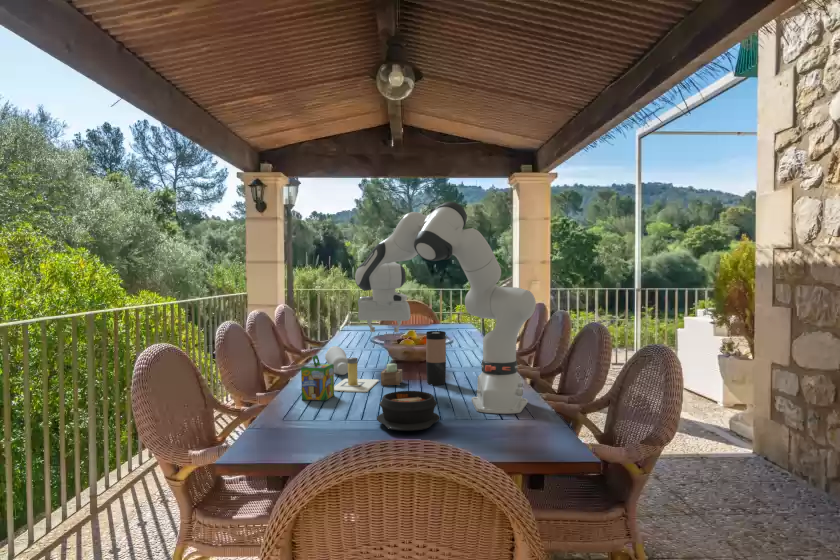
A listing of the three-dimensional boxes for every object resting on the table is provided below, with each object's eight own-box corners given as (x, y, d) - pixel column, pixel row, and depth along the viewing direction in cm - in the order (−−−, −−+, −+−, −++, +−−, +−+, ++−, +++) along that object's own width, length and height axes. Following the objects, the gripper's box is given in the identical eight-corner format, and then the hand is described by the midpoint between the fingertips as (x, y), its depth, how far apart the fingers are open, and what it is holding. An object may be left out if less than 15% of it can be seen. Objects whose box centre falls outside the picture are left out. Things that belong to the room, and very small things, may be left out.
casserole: (378, 413, 188) (378, 387, 188) (437, 412, 189) (437, 386, 188) (374, 437, 163) (374, 407, 163) (442, 436, 164) (442, 406, 163)
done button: (395, 380, 229) (395, 365, 229) (385, 380, 230) (385, 365, 230) (397, 378, 233) (397, 363, 233) (387, 378, 234) (387, 363, 234)
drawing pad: (366, 392, 217) (366, 390, 217) (329, 391, 219) (329, 389, 219) (379, 381, 237) (379, 379, 236) (344, 380, 239) (344, 378, 239)
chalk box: (326, 401, 204) (325, 358, 203) (300, 400, 206) (300, 357, 205) (335, 395, 213) (334, 354, 212) (311, 394, 215) (310, 353, 214)
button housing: (399, 385, 228) (398, 372, 227) (381, 385, 229) (380, 372, 229) (402, 381, 235) (402, 369, 234) (384, 381, 236) (384, 368, 235)
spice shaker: (356, 385, 226) (356, 359, 225) (346, 385, 226) (346, 359, 226) (358, 383, 229) (358, 357, 229) (349, 383, 230) (349, 357, 230)
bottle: (320, 358, 271) (327, 373, 242) (331, 341, 271) (339, 354, 242) (337, 368, 273) (346, 384, 244) (348, 351, 274) (358, 365, 245)
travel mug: (446, 381, 235) (446, 330, 235) (445, 385, 228) (445, 333, 227) (427, 381, 236) (427, 330, 235) (425, 385, 229) (425, 333, 228)
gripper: (355, 297, 228) (356, 332, 229) (408, 297, 225) (408, 333, 226) (359, 295, 234) (360, 330, 235) (411, 295, 231) (411, 331, 232)
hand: (384, 332), depth 230 cm, fingers open, 8 cm apart
